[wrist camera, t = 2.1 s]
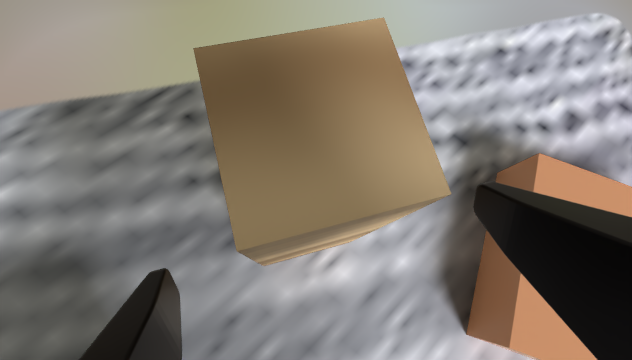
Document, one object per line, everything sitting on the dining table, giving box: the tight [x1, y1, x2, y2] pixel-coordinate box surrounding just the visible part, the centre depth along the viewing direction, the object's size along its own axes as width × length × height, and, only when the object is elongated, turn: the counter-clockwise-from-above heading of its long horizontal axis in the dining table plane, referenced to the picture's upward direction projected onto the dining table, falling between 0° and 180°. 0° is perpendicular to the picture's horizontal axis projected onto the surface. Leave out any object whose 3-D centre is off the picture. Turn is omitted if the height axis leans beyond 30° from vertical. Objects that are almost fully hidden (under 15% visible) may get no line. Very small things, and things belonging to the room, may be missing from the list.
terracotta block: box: [466, 153, 632, 360], centre depth 18 cm, size 10×10×4 cm
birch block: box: [194, 18, 451, 266], centre depth 14 cm, size 5×5×12 cm
